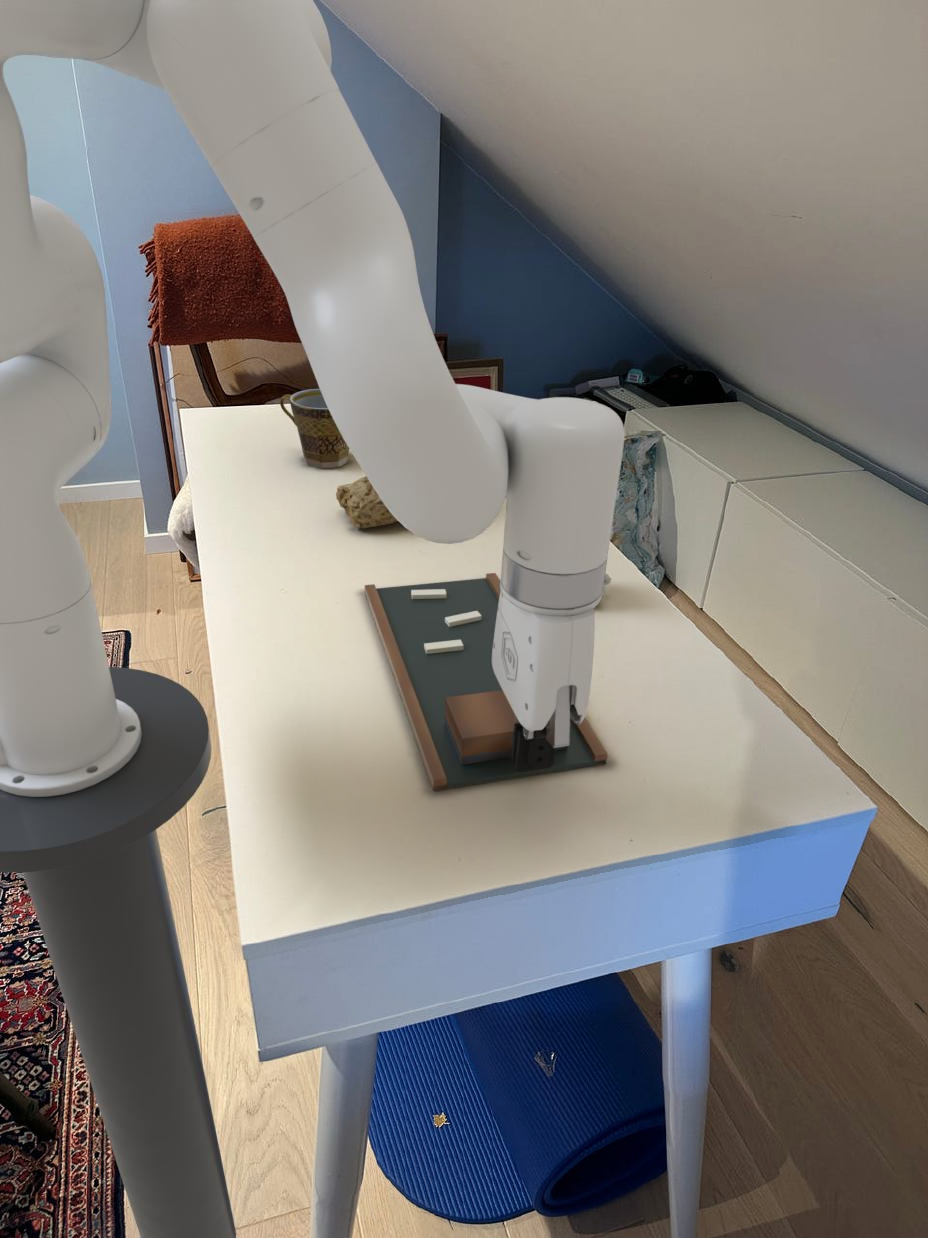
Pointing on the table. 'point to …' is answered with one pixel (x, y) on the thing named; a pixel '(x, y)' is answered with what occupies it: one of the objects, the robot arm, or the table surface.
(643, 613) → the table surface
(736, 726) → the table surface
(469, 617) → the chalk stroke
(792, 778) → the table surface
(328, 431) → the ceramic cup
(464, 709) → the eraser
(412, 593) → the white rectangular bar
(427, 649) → the chalk stroke
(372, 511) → the sponge
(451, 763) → the slate board
